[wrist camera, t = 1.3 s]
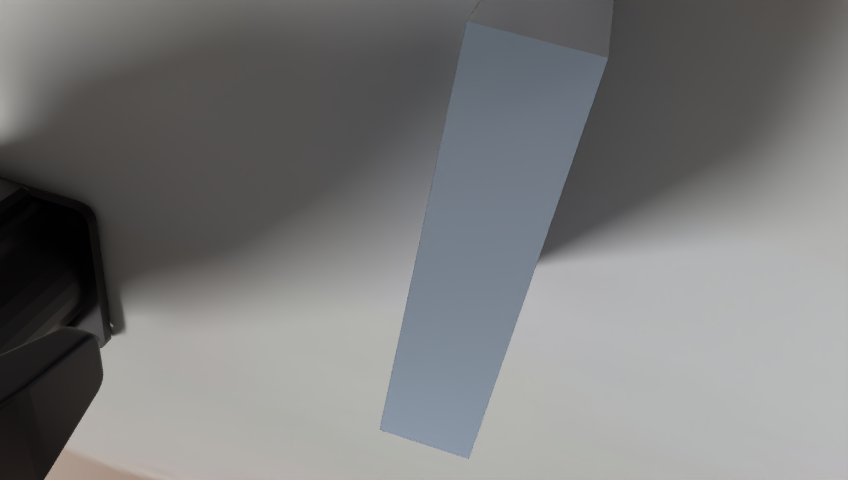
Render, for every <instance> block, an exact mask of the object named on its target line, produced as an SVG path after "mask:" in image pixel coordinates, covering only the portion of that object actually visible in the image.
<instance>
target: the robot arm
mask: <svg viewBox="0 0 848 480" xmlns="http://www.w3.org/2000/svg"><path fill="white" fill-rule="evenodd" d="M110 339H111V328H110V321H109V313H108V306H107V299H106V291H105V284H104V276H103V269H102V262H101V254H100V247H99V239H98V232H97V225H96V218H95V215H94V213H93V212H92V210H91V209H90V208H89V207H88V206H87V205H85V204H83V203H81V202H78V201H75V200H72V199H68V198H65V197H62V196H59V195H55V194H52V193H49V192H46V191H42V190H39V189H36V188H33V187H29V186H26V185H23V184H19V183H16V182H13V181H10V180H6V179H3V178H0V480H44V479H45V477H46V476H47V474H48V472H49V471H50V469H51V468H52V466H53V465H54V463H55V461H56V460H57V458H58V456H59V455H60V453H61V451H62V450H63V448H64V446H65V445H66V443H67V442H68V440H69V438H70V437H71V435H72V433H73V432H74V430H75V428H76V427H77V425H78V424H79V422H80V420H81V419H82V417H83V415H84V414H85V412H86V410H87V409H88V407H89V406H90V404H91V402H92V401H93V399H94V397H95V396H96V394H97V392H98V391H99V389H100V386H101V384H102V380H103V367H102V360H101V354H100V348H102V347H103V346H105V344H106V343H107V342H108V341H109V340H110Z"/></svg>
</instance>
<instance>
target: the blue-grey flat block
mask: <svg viewBox="0 0 848 480" xmlns="http://www.w3.org/2000/svg"><path fill="white" fill-rule="evenodd" d="M613 6H614V0H481V1H480V2H479V4H478V5H477V7H476V8H475V9H474V11H473V12H472V14H471V15H470V17H469V18H468V20H467V21H466V26H465V31H464V35H463V40H462V45H461V50H460V54H459V59H458V64H457V68H456V73H455V78H454V82H453V87H452V92H451V97H450V101H449V106H448V111H447V115H446V120H445V125H444V129H443V134H442V139H441V143H440V148H439V153H438V158H437V162H436V167H435V172H434V176H433V181H432V186H431V190H430V195H429V200H428V205H427V209H426V214H425V219H424V223H423V228H422V233H421V237H420V242H419V247H418V252H417V256H416V261H415V266H414V270H413V275H412V280H411V284H410V289H409V294H408V298H407V303H406V308H405V313H404V317H403V322H402V327H401V331H400V336H399V341H398V345H397V350H396V355H395V360H394V364H393V369H392V374H391V378H390V383H389V388H388V392H387V397H386V402H385V406H384V411H383V416H382V421H381V425H380V430H382V431H385V432H388V433H391V434H394V435H397V436H400V437H403V438H407V439H410V440H413V441H416V442H419V443H422V444H425V445H428V446H431V447H434V448H437V449H440V450H443V451H446V452H449V453H452V454H455V455H458V456H461V457H464V458H467V459H469V457H470V454H471V451H472V448H473V445H474V443H475V440H476V437H477V434H478V431H479V428H480V425H481V422H482V420H483V417H484V414H485V411H486V408H487V405H488V402H489V399H490V397H491V394H492V391H493V388H494V385H495V382H496V379H497V377H498V374H499V371H500V368H501V365H502V362H503V359H504V356H505V354H506V351H507V348H508V345H509V342H510V339H511V336H512V333H513V331H514V328H515V325H516V322H517V319H518V316H519V313H520V310H521V308H522V305H523V302H524V299H525V296H526V293H527V290H528V288H529V285H530V282H531V279H532V276H533V273H534V270H535V267H536V265H537V262H538V259H539V256H540V253H541V250H542V247H543V244H544V242H545V239H546V236H547V233H548V230H549V227H550V224H551V221H552V219H553V216H554V213H555V210H556V207H557V204H558V201H559V199H560V196H561V193H562V190H563V187H564V184H565V181H566V178H567V176H568V173H569V170H570V167H571V164H572V161H573V158H574V155H575V153H576V150H577V147H578V144H579V141H580V138H581V135H582V132H583V130H584V127H585V124H586V121H587V118H588V115H589V112H590V110H591V107H592V104H593V101H594V98H595V95H596V92H597V89H598V87H599V84H600V81H601V78H602V75H603V72H604V69H605V66H606V64H607V61H608V57H609V47H610V37H611V27H612V16H613Z"/></svg>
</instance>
